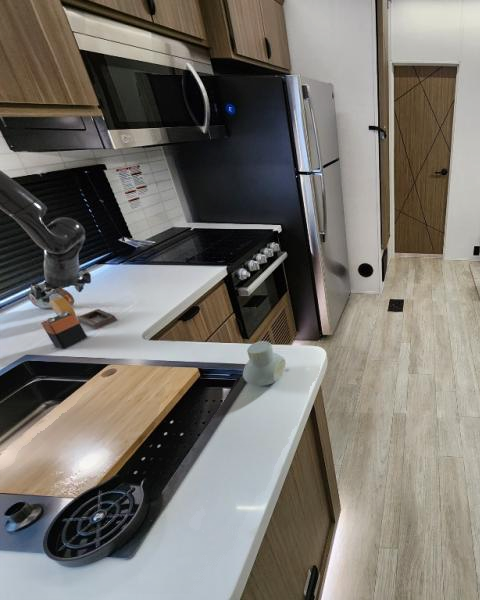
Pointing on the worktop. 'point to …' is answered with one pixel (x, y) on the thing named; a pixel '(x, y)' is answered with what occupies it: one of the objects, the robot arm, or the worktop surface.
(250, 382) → the air freshener
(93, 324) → the tape holder
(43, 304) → the tin
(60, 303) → the tape roll
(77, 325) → the battery
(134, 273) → the worktop surface
